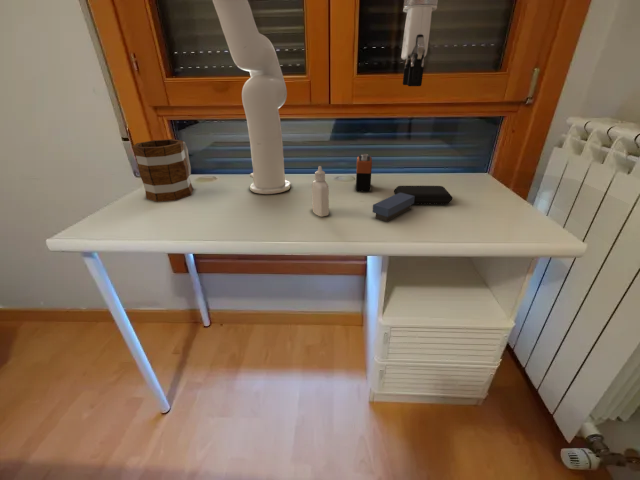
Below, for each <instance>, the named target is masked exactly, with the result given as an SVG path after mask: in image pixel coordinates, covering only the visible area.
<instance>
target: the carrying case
mask: <svg viewBox="0 0 640 480" xmlns="http://www.w3.org/2000/svg"><path fill="white" fill-rule="evenodd" d="M393 193H394V194H393V195H395V194H398V193H404V194H408V195H412V196H415V199H414V204H413V205H448V204H450V203H451V202H452V201H453V199H454V198H453V196H452V195H451V194H450V192H449V191H448V190H447V189H446V188H445V186H442V185H398V186H397V187H395V188H394V189H393Z"/></svg>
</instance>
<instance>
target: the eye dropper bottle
mask: <svg viewBox="0 0 640 480" xmlns="http://www.w3.org/2000/svg"><path fill="white" fill-rule="evenodd" d="M317 168H318V169H317V170H316V171H315V172H314V180H313V181H312V184H311V197H312V198H311V199H312V200H311V201H312V212H313V214H314V215H315V216H318V217H320V218H321V217H327V216H329V215H330V204H329V203H330V195H329V194H330V191H329V190H330V188H329V185H328V183H327V181H326V171H324V170H323V167H322V165H318V167H317Z"/></svg>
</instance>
